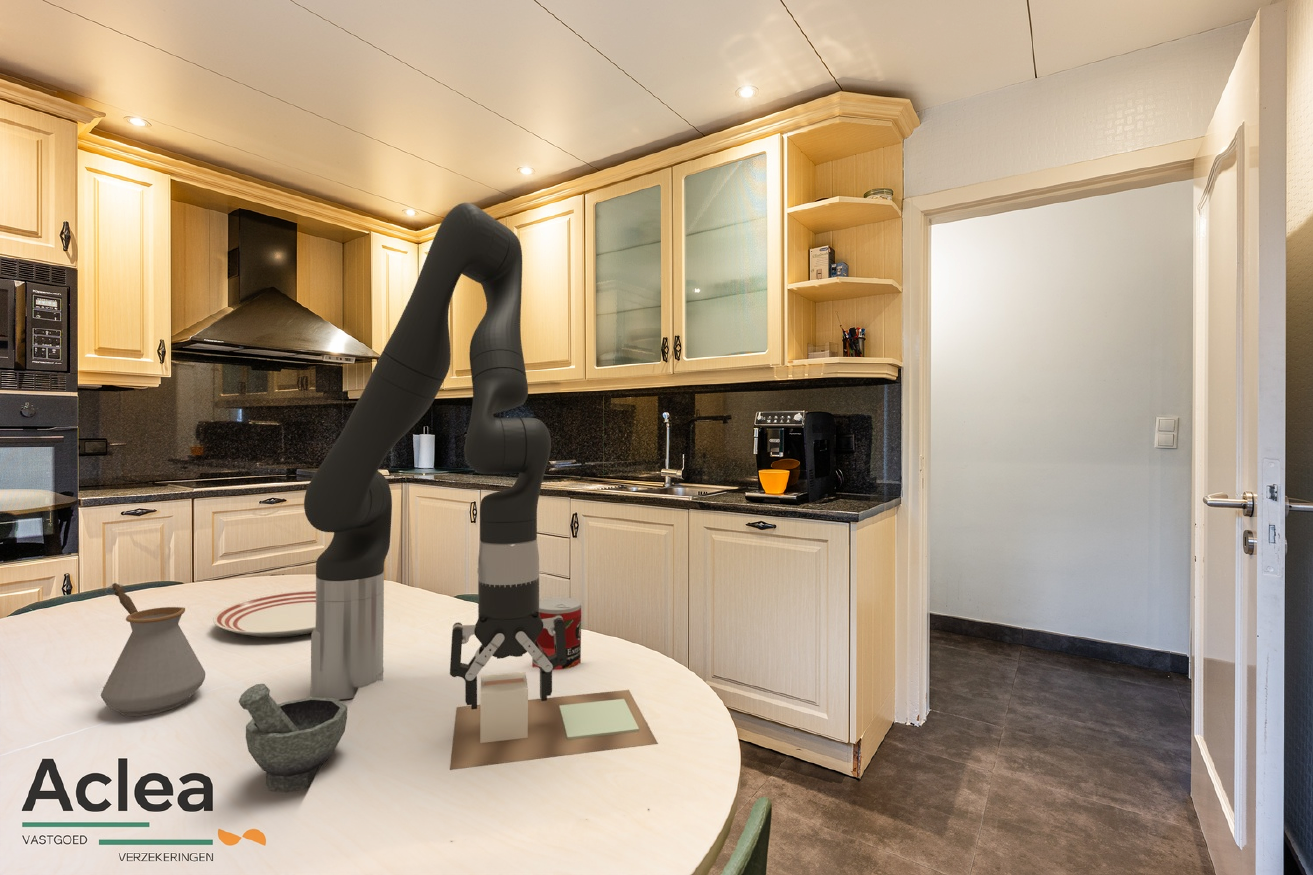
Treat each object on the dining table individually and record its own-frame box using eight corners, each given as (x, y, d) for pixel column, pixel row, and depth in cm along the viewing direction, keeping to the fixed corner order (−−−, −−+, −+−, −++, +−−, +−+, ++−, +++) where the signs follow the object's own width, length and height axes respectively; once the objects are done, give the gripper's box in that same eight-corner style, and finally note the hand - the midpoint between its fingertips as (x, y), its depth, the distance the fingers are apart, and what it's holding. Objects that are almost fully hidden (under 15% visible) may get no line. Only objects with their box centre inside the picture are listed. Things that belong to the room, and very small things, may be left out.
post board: (449, 782, 69) (450, 729, 69) (456, 717, 84) (456, 673, 84) (657, 755, 75) (658, 706, 75) (628, 699, 91) (629, 659, 91)
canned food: (571, 681, 97) (572, 611, 97) (524, 676, 99) (524, 607, 99) (587, 663, 105) (587, 598, 105) (542, 659, 106) (543, 595, 106)
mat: (567, 739, 76) (567, 737, 76) (559, 707, 84) (559, 705, 84) (639, 731, 78) (639, 728, 78) (623, 700, 87) (623, 698, 87)
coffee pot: (220, 698, 89) (221, 595, 89) (119, 731, 80) (120, 614, 79) (158, 667, 101) (158, 575, 100) (63, 692, 91) (63, 590, 91)
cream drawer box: (480, 742, 75) (480, 692, 75) (480, 721, 80) (481, 674, 80) (527, 737, 76) (528, 687, 76) (524, 716, 82) (525, 670, 82)
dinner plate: (399, 617, 129) (399, 602, 129) (257, 657, 106) (257, 638, 106) (325, 597, 144) (325, 583, 144) (186, 628, 121) (186, 611, 121)
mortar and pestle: (309, 746, 76) (310, 649, 76) (364, 764, 72) (365, 662, 72) (212, 795, 66) (213, 683, 66) (270, 819, 62) (271, 700, 62)
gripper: (448, 586, 73) (449, 723, 73) (569, 578, 77) (569, 708, 77) (450, 572, 80) (451, 697, 80) (561, 565, 84) (561, 684, 84)
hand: (509, 702), depth 79 cm, fingers open, 8 cm apart
